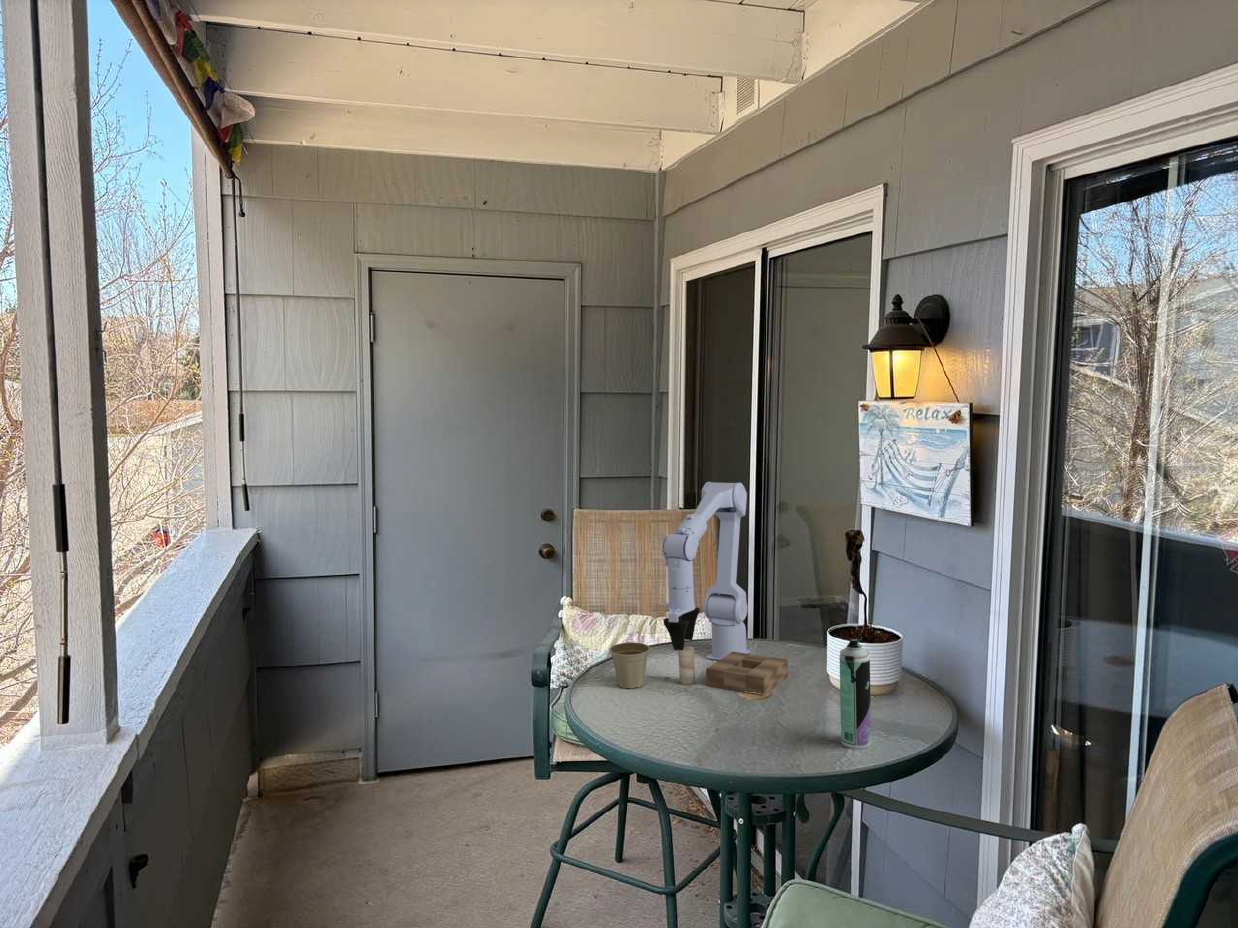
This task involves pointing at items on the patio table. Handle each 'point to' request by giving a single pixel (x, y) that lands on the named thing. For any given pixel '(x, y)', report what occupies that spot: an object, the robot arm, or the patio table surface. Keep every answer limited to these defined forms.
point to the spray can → (855, 696)
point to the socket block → (747, 672)
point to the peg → (687, 666)
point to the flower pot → (630, 663)
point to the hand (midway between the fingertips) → (683, 644)
